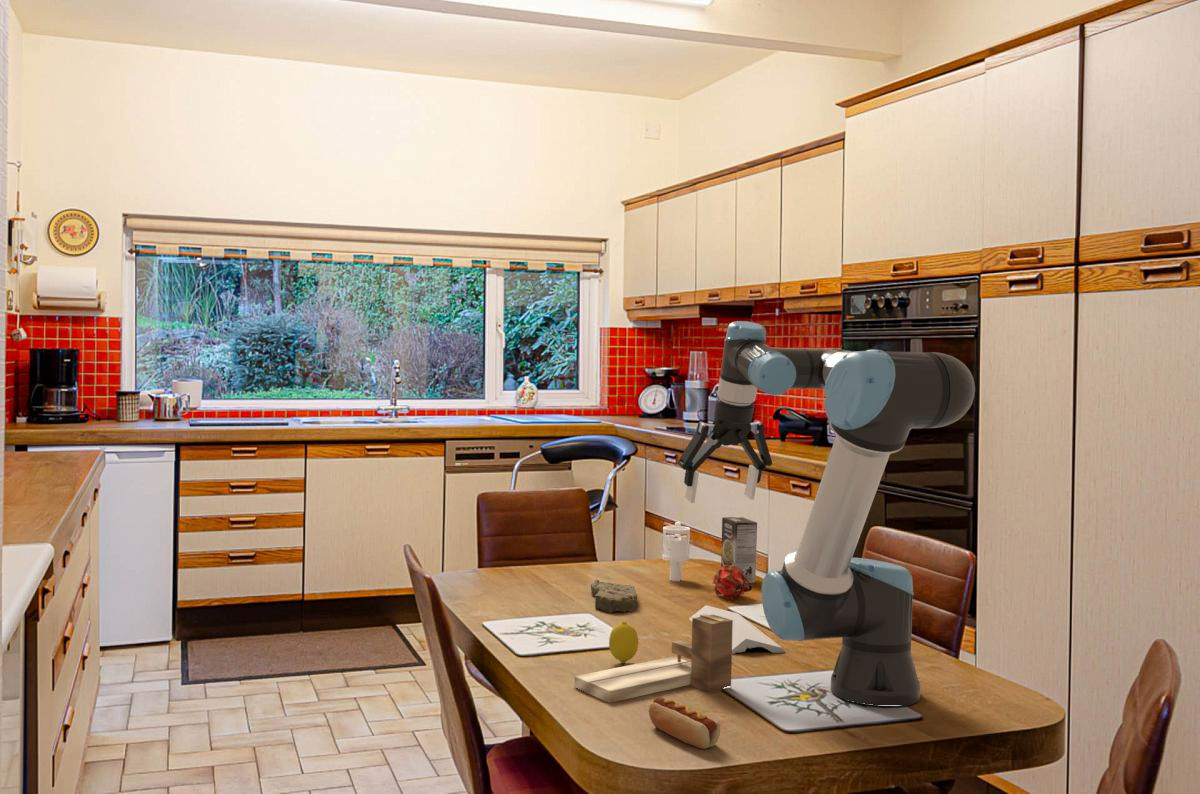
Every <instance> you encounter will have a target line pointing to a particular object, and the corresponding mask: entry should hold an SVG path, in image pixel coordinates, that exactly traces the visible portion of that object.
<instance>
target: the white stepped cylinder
mask: <svg viewBox="0 0 1200 794" xmlns="http://www.w3.org/2000/svg"><path fill="white" fill-rule="evenodd" d="M675 537H676V538H675ZM690 537H691V528H690V527H689V526H682V522H681V521H676V522H675V523H674V525H666V526H663V528H662V560H663V561H664V562H665V561H667V562H669V581H670V580H673V581H672V582H681V581H682V563H683V562H689V561H690V549H691V548H690V546H691V545H690V542H691V541H690V540H691V538H690ZM673 538H674V539H673ZM680 580H681V581H680Z"/></svg>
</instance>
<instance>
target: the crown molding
mask: <svg viewBox="0 0 1200 794" xmlns="http://www.w3.org/2000/svg"><path fill="white" fill-rule="evenodd" d="M703 614H706V615H716V616H720V617H723V618H727V619H730V620H733V626H732V655H735V654H736V653H744V652H746V651H747V649H754V648H763V649H765V650H768V651H769V652H771V653H772V654H775V653H776V654H779V653H780V654H781V653H783V654H784V653H786V650H784V647H782V646H781V645H779V644H778V643H776V642H775V641H774V640H773V639H772V638H770V636H767V635H766V634H765V633H763V631H761V630H760V629H759V628H757V627H756V626H754V624H752V622H750V621H749V620H747V619H745V618H744V617H743V616H742V615H741V614H739V613H737V612H733V611H729V610H726V609H722V608H718V607H715V606H710V605H707V604H706V605H704V606H703V607H702V608H700V609H699V610H697V611H696V612H695V613H694V614H692V615H691V616H690V617H689V618H688V619H689V620H690V622H692V618H696V617H700V615H703Z"/></svg>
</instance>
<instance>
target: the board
mask: <svg viewBox="0 0 1200 794" xmlns="http://www.w3.org/2000/svg"><path fill="white" fill-rule="evenodd" d="M687 686H691V660H690V661H689V660H685V659H683V658H681V662H678V656H669V657H663V658H658V659H654V660H649V661H643V662H639V663H634V664H633V663H632V664H629V665H624V666H619V667H613V668H609V669H604V670H599V671H595V672H589V673H584V674H579V675H574V689H576V688H578V689H577V690H579V689H580V690H579V691H581V690H582V692H583V691H584V693H586V694H589V695H590V696H593V697H595V698H597V699H600V700H602V701H604V702H606V703H609V704H610V703H615V702H620V701H624V700H628V699H634V698H637V697H642V696H646V695H650V694H655V693H658V692H659V693H660V692H665V691H669V690H673V689H678V688H681V687H687Z"/></svg>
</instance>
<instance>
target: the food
mask: <svg viewBox="0 0 1200 794" xmlns="http://www.w3.org/2000/svg"><path fill="white" fill-rule="evenodd" d="M648 715H649V718H650V721H651V723H652V724H653V726H654V727H655V728H657V729H659V731H662V732H665V733H666V734H668V735H669V736H670V737H671V736H672V737H673V738H675V739H678V740H680V741H681V742H682V743H685V744H687V745H691V746H694V747H695V748H698V749H703V750H706V749H707V748H712V747H714V746H716V744H717V742H718V740H719V739H720V734H721V724H720V721H718V720H716V719H714V718H712V717H709V716H708V715H705V714H703V713H701V711H698V710H693V709H691V708H690V707H689V706H687V705H684V704H680V703H679V702H678V701H676V700H673V699H666V698H663V697H656V698H654V700H653V702H651V703H649V708H648Z"/></svg>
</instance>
